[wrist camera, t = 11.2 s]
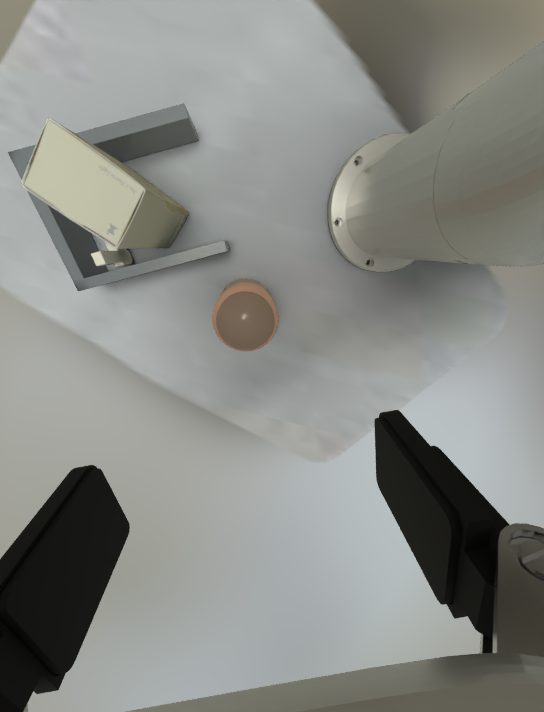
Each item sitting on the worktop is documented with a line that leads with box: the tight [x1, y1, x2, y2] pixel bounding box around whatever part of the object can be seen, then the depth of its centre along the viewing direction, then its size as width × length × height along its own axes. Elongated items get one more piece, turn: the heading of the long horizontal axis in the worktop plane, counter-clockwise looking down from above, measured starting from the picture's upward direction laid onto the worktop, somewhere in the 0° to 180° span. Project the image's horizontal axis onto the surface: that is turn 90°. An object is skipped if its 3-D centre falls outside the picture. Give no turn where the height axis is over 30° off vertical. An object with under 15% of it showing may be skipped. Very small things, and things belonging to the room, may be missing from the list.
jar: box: [213, 278, 278, 351], centre depth 29 cm, size 6×6×8 cm
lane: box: [8, 104, 230, 291], centre depth 26 cm, size 14×11×5 cm
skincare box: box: [21, 118, 189, 249], centre depth 22 cm, size 6×4×12 cm
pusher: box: [91, 242, 133, 267], centre depth 25 cm, size 1×8×6 cm, turn 14°
